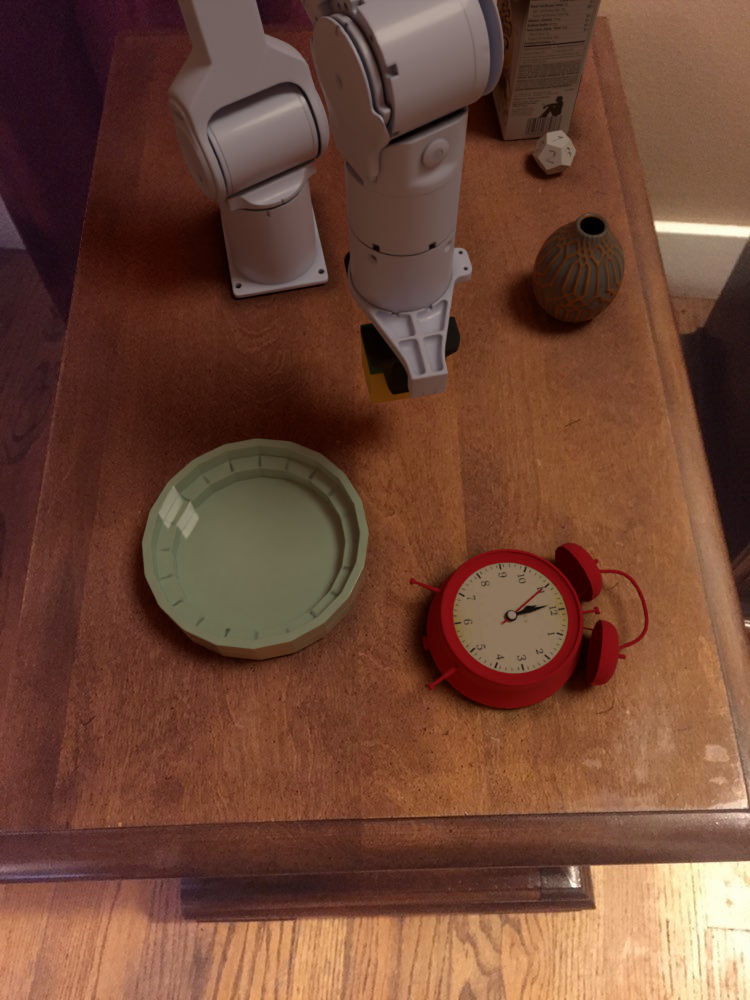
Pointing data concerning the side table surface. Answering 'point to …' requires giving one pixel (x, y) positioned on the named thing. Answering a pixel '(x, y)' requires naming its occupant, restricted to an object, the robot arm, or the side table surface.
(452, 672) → the alarm clock
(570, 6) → the coffee box
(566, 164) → the game die
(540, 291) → the vase
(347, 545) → the bowl
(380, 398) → the sponge
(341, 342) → the side table surface
